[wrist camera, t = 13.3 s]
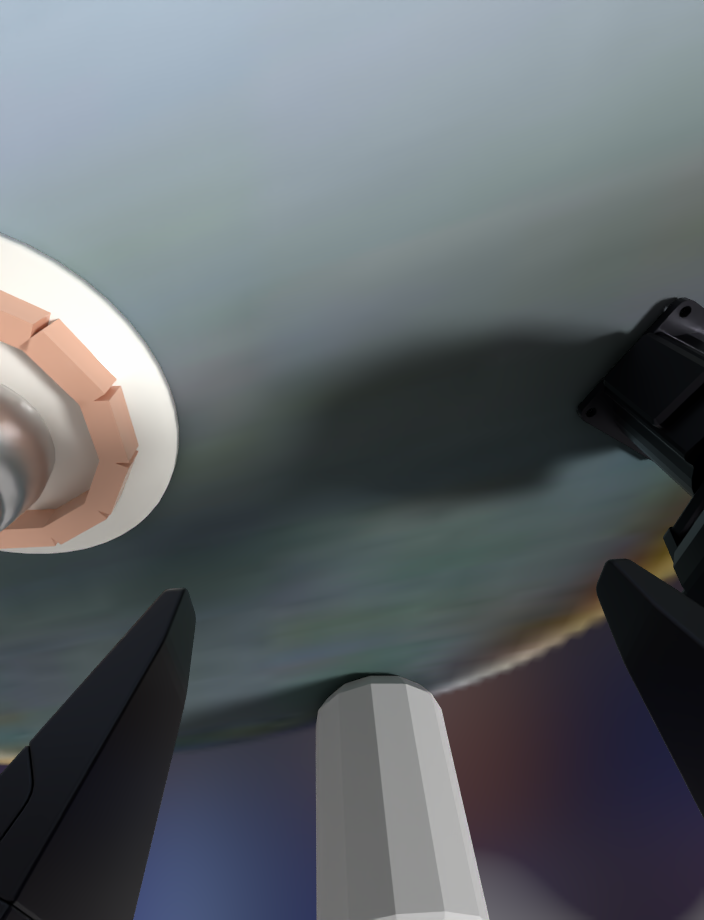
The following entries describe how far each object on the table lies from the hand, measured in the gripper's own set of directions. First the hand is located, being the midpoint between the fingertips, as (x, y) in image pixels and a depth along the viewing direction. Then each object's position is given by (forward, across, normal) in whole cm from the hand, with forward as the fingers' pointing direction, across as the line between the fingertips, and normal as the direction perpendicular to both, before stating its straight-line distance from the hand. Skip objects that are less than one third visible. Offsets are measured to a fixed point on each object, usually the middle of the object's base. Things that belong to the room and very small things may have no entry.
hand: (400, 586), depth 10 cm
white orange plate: (+13, +16, +2) cm, 21 cm away
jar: (+13, -1, +29) cm, 32 cm away
